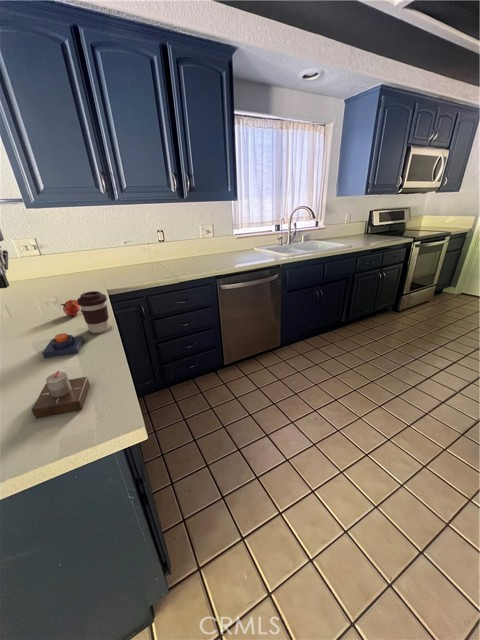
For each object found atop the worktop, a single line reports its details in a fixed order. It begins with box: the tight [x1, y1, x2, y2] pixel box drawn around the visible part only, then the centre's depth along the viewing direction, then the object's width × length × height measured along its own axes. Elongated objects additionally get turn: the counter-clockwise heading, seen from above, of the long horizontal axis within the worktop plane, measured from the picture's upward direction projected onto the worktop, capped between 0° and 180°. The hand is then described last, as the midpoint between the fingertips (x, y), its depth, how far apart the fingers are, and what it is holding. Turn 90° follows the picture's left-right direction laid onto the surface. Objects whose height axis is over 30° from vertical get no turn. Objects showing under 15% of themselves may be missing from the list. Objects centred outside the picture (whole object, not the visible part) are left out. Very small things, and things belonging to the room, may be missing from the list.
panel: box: [31, 376, 91, 420], centre depth 68 cm, size 10×10×3 cm
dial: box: [45, 370, 71, 397], centre depth 66 cm, size 4×4×5 cm
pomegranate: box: [60, 299, 82, 318], centre depth 117 cm, size 7×7×10 cm
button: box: [54, 332, 68, 342], centre depth 90 cm, size 4×4×2 cm
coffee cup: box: [76, 290, 110, 334], centre depth 102 cm, size 10×10×15 cm
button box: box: [42, 334, 85, 359], centre depth 91 cm, size 10×9×4 cm
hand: (4, 287), depth 75 cm, fingers closed
